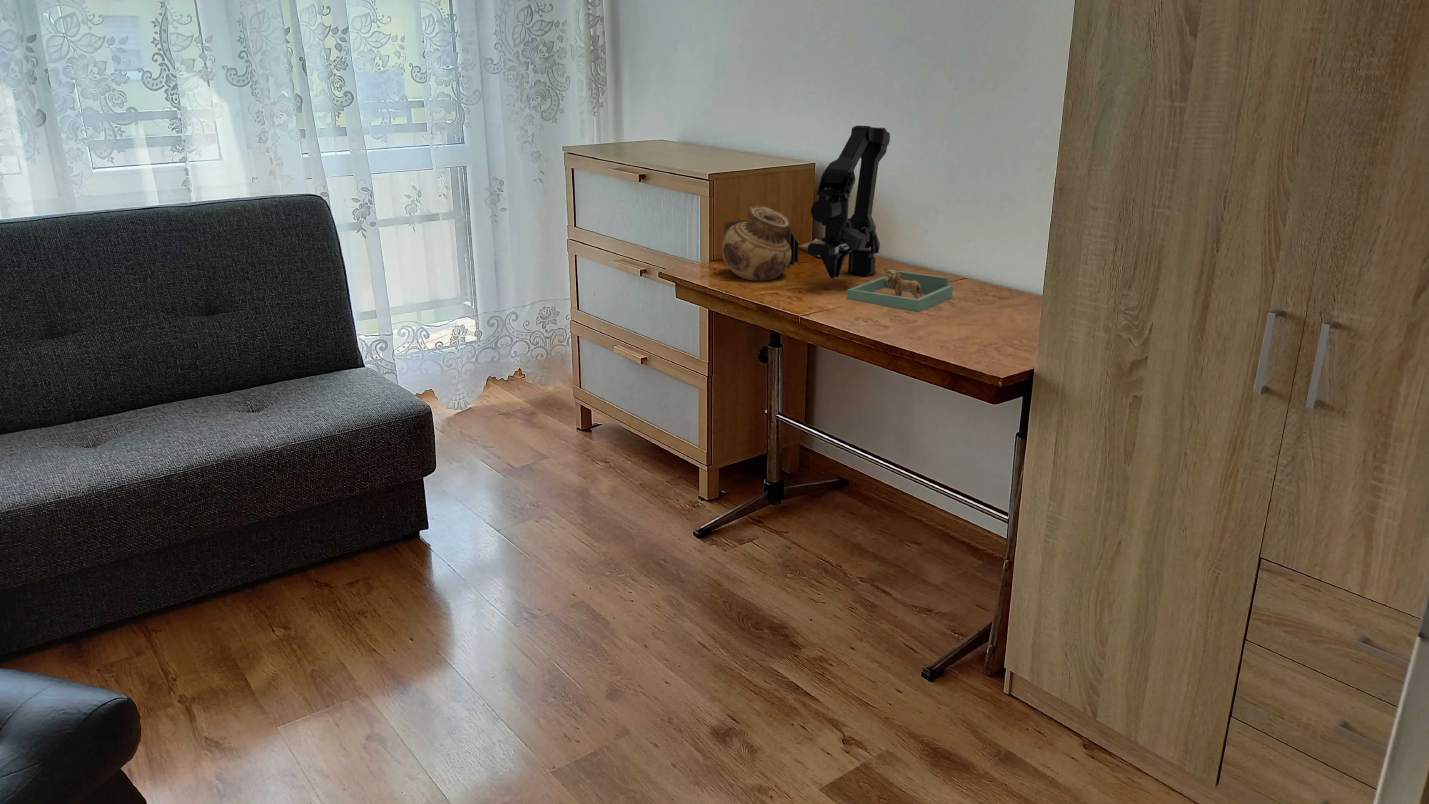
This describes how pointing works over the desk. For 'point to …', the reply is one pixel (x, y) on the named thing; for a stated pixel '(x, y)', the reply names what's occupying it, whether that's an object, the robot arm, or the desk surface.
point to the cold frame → (929, 285)
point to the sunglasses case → (805, 247)
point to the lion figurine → (902, 284)
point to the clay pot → (758, 245)
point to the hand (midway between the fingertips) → (834, 277)
